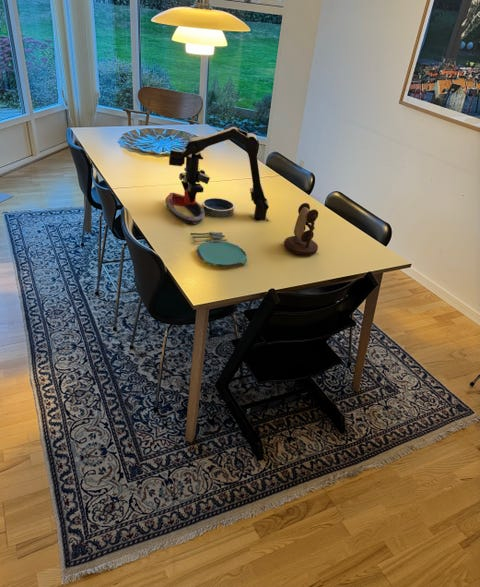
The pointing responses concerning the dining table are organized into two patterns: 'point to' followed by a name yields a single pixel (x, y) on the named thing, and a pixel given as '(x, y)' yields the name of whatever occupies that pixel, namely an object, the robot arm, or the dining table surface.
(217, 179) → the dining table surface
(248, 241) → the dining table surface
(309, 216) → the brown upright piece
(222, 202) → the bowl
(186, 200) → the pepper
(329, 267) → the dining table surface
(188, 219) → the dish
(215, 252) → the cutlery set
